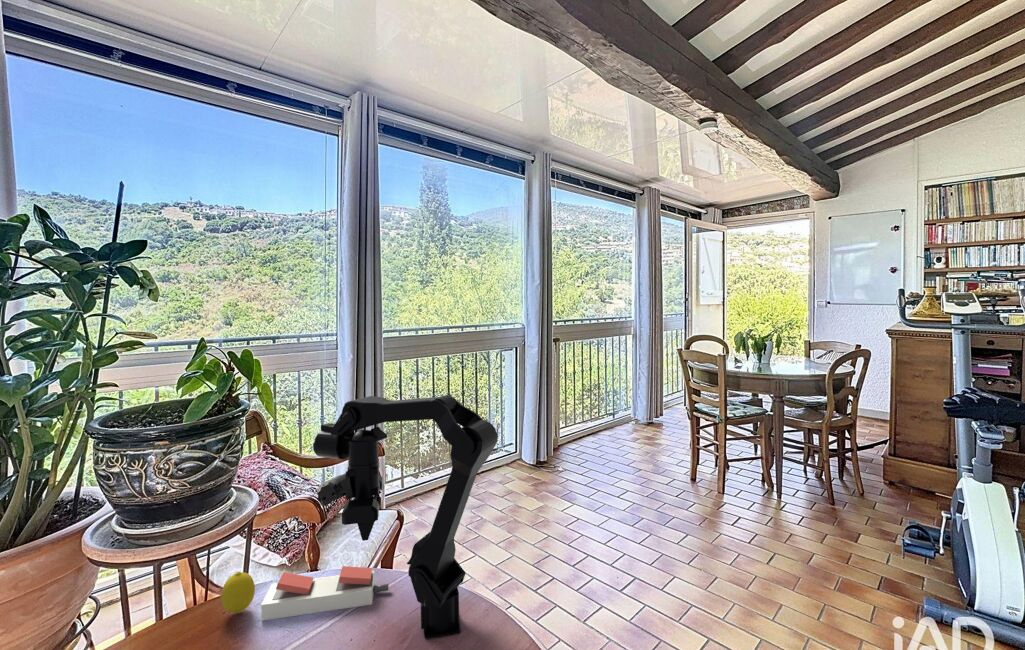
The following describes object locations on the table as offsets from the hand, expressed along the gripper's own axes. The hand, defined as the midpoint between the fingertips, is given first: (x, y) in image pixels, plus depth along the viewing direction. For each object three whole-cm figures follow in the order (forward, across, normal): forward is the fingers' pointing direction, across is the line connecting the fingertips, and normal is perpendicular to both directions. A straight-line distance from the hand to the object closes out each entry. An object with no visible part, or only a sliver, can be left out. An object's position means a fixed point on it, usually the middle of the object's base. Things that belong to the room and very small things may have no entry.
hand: (365, 539), depth 90 cm
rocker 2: (+9, -3, -2) cm, 10 cm away
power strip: (+13, -3, -8) cm, 15 cm away
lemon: (+13, -3, -24) cm, 27 cm away
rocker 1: (+9, -3, -14) cm, 17 cm away
